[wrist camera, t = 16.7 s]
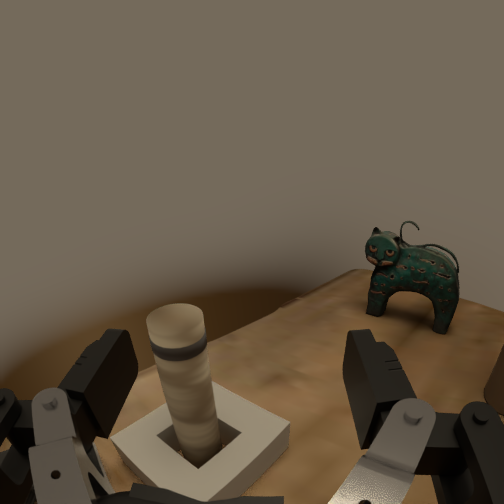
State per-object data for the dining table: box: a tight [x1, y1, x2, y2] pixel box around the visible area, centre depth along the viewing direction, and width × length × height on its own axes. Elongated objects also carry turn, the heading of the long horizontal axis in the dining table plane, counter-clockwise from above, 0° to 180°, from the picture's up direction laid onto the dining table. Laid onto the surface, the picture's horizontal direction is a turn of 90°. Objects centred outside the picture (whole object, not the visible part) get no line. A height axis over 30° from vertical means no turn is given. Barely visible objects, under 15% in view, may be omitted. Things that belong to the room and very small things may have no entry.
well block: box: [110, 381, 290, 502], centre depth 30 cm, size 15×13×5 cm
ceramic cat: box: [365, 221, 459, 334], centre depth 54 cm, size 20×6×20 cm, turn 49°
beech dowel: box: [146, 304, 223, 469], centre depth 27 cm, size 5×5×20 cm
